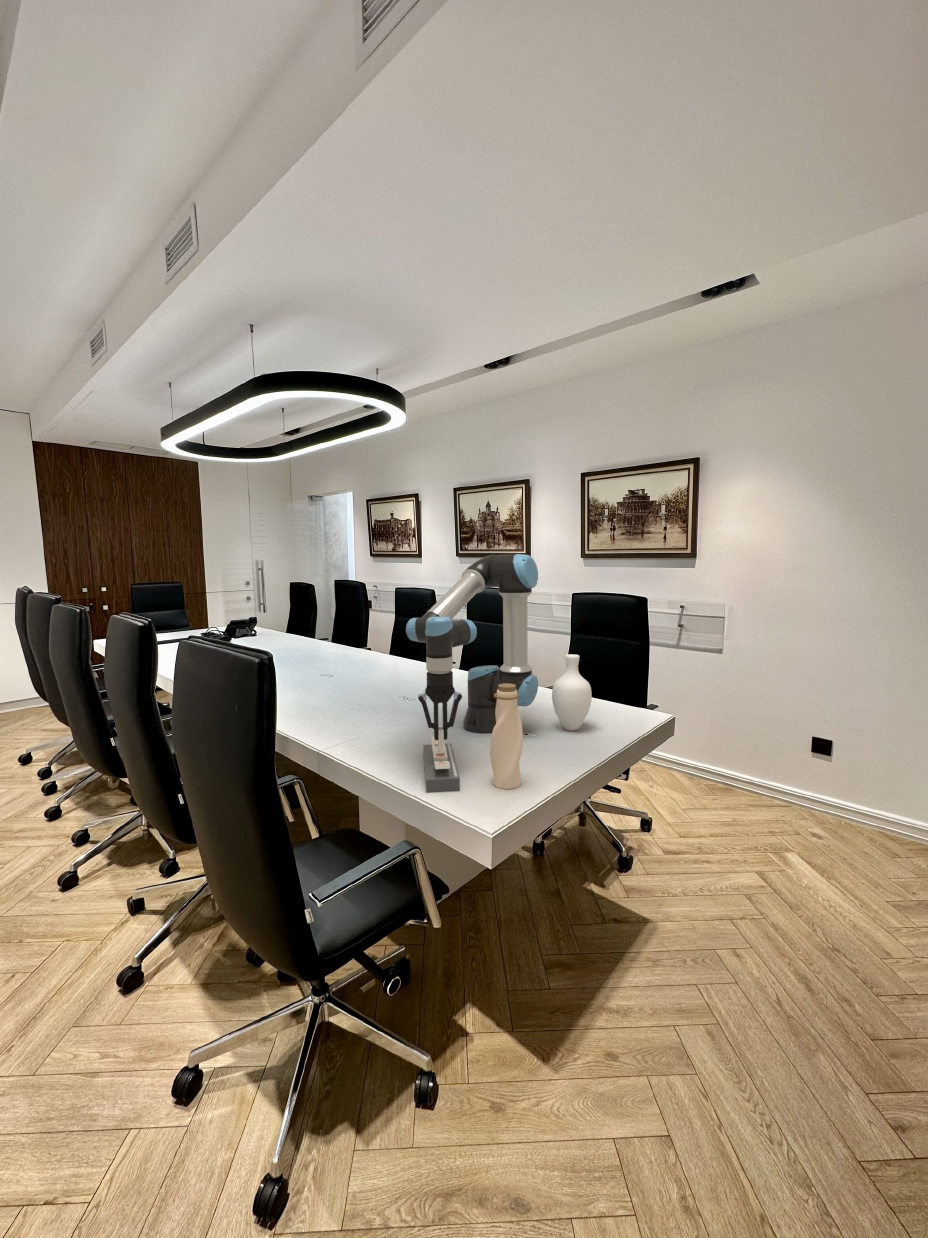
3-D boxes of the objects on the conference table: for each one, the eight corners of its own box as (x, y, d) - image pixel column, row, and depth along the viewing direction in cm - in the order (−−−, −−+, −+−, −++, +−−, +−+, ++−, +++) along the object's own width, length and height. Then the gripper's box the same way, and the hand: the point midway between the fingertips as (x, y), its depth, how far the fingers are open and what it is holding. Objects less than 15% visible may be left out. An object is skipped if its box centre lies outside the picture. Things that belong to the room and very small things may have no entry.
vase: (585, 723, 202) (586, 651, 199) (595, 735, 187) (597, 658, 184) (548, 724, 201) (549, 652, 198) (555, 736, 187) (556, 658, 184)
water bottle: (487, 775, 152) (487, 681, 149) (518, 774, 153) (518, 680, 150) (492, 790, 142) (492, 689, 139) (525, 789, 143) (525, 688, 140)
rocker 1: (443, 738, 167) (443, 734, 167) (445, 751, 161) (445, 747, 160) (431, 739, 167) (431, 735, 166) (432, 752, 160) (432, 748, 160)
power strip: (449, 745, 178) (448, 734, 178) (459, 790, 142) (459, 777, 141) (422, 746, 177) (422, 735, 177) (426, 792, 141) (426, 779, 140)
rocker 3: (448, 766, 149) (447, 760, 150) (450, 768, 142) (449, 762, 143) (434, 766, 149) (434, 761, 149) (435, 769, 142) (435, 763, 142)
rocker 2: (445, 750, 158) (445, 745, 158) (447, 761, 152) (447, 756, 151) (432, 750, 158) (432, 746, 158) (433, 761, 151) (433, 756, 151)
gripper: (460, 667, 154) (462, 744, 157) (416, 669, 153) (418, 746, 155) (463, 672, 147) (464, 753, 149) (417, 674, 145) (419, 756, 148)
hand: (441, 750), depth 152 cm, fingers closed
